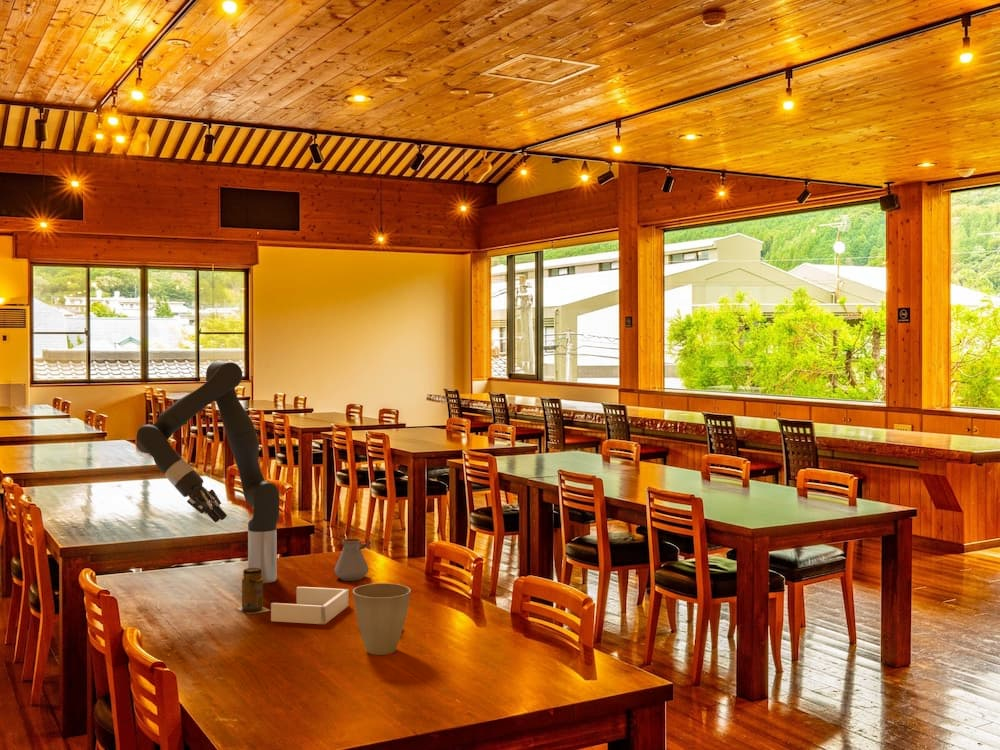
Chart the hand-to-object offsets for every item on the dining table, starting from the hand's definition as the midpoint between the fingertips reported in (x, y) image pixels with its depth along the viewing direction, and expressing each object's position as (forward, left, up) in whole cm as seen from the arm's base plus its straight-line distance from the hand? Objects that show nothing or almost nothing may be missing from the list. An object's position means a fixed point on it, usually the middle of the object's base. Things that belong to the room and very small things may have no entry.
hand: (221, 519), depth 303 cm
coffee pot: (-36, +31, -26) cm, 54 cm away
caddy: (+4, +30, -26) cm, 40 cm away
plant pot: (+34, +61, -26) cm, 75 cm away
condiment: (+4, +12, -26) cm, 29 cm away
